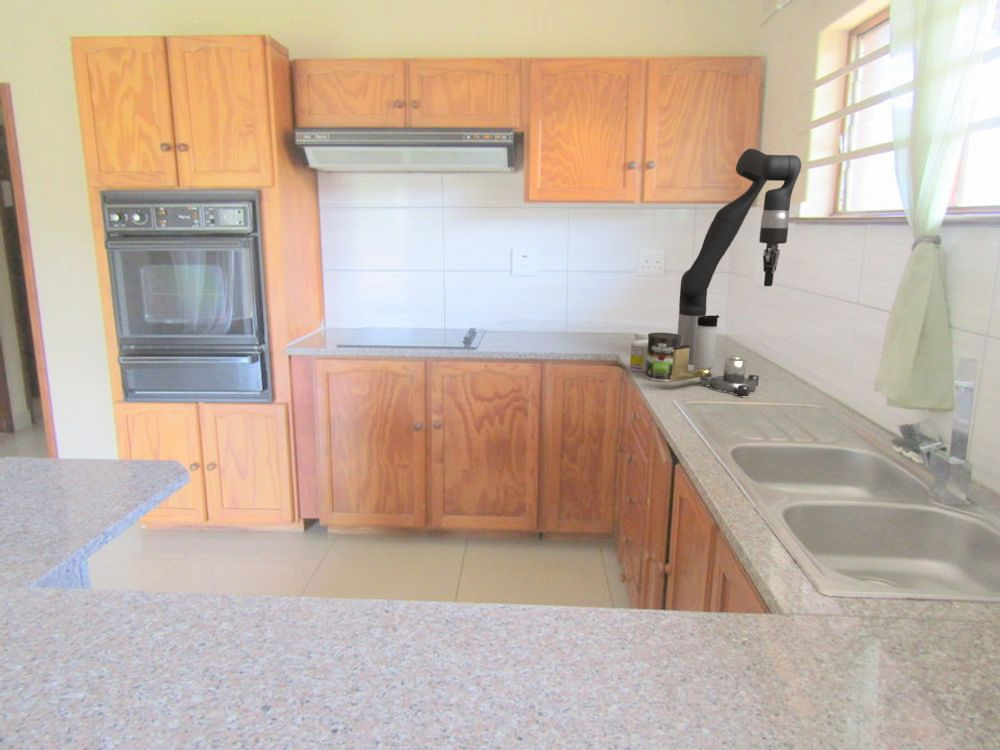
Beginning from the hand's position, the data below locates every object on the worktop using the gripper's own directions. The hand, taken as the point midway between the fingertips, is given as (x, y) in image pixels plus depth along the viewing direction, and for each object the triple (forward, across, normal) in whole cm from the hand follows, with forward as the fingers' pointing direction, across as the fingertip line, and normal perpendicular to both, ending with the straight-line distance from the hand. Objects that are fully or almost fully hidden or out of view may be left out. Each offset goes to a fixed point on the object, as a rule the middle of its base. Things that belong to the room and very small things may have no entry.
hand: (768, 286), depth 197 cm
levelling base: (+31, -7, +8) cm, 33 cm away
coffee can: (+31, -6, +28) cm, 43 cm away
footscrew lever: (+28, -13, +17) cm, 35 cm away
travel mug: (+31, +6, +18) cm, 37 cm away
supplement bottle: (+31, +1, +38) cm, 49 cm away
